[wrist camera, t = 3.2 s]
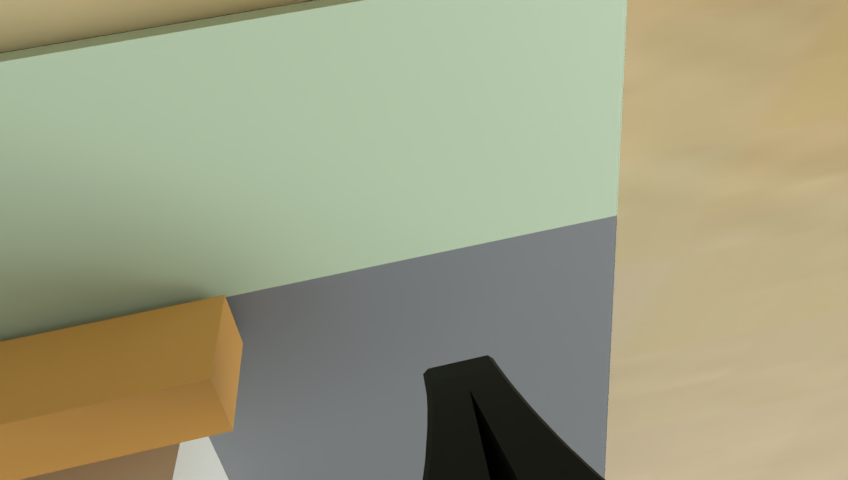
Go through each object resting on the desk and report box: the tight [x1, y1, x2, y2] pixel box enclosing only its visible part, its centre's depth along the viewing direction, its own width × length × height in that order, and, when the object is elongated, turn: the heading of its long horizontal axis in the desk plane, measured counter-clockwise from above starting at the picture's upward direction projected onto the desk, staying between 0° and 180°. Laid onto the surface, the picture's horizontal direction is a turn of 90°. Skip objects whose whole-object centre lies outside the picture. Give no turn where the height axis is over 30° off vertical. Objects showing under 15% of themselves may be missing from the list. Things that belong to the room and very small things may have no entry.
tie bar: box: [0, 295, 243, 480], centre depth 14 cm, size 2×9×3 cm, turn 97°
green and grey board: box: [0, 0, 627, 480], centre depth 17 cm, size 18×22×1 cm
